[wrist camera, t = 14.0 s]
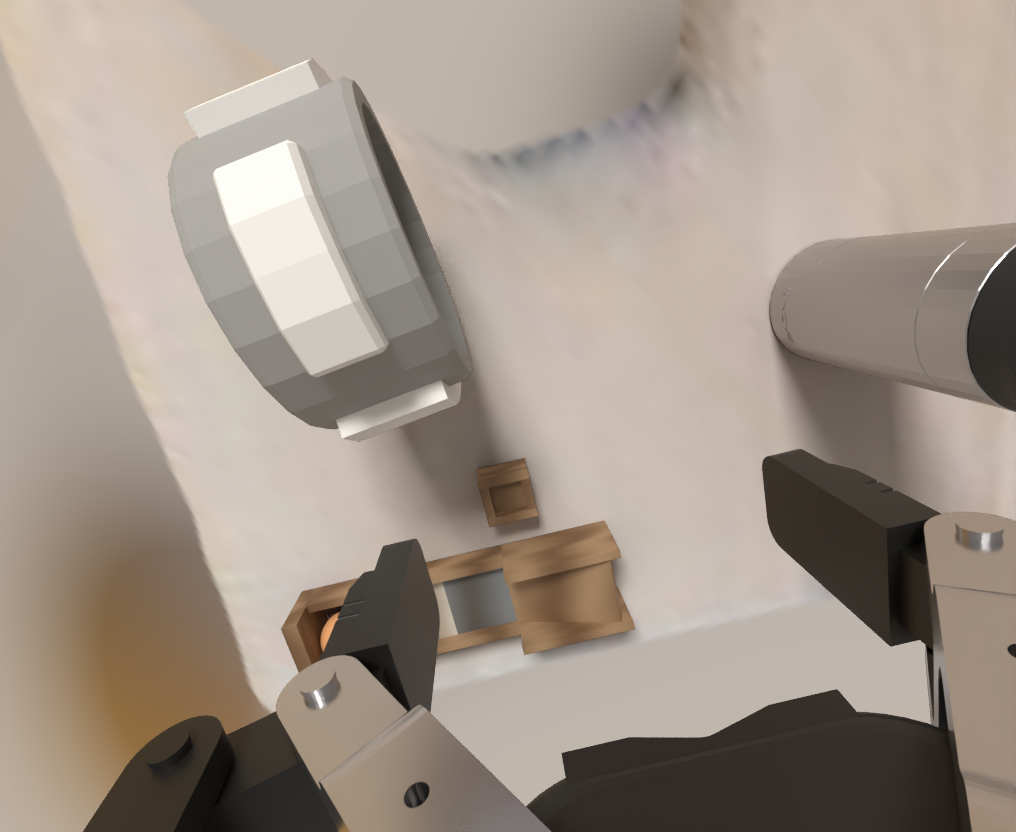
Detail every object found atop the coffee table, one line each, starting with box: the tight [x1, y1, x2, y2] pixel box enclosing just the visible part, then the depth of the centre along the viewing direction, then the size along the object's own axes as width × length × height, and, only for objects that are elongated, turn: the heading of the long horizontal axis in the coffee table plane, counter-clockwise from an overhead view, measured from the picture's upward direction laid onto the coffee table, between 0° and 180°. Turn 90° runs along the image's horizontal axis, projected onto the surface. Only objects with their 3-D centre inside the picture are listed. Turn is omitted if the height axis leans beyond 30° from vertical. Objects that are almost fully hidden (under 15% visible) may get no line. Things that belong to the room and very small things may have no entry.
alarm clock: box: [168, 58, 473, 442], centre depth 29 cm, size 18×8×20 cm, turn 20°
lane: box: [281, 521, 635, 673], centre depth 44 cm, size 27×7×5 cm, turn 103°
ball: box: [321, 612, 339, 651], centre depth 44 cm, size 4×4×4 cm
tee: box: [478, 458, 538, 527], centre depth 42 cm, size 4×4×3 cm
